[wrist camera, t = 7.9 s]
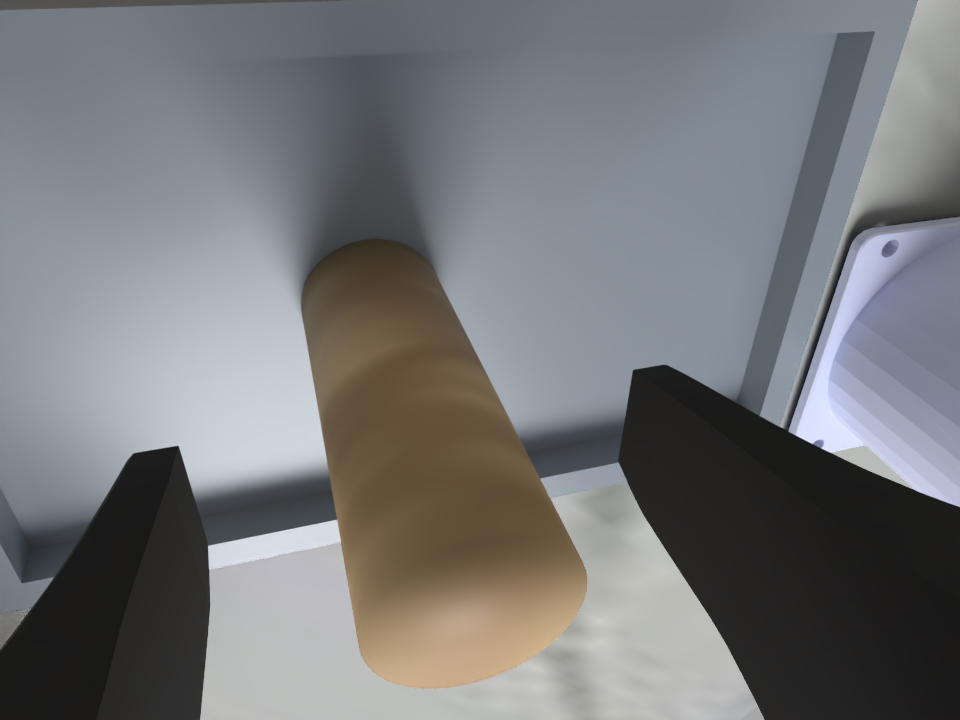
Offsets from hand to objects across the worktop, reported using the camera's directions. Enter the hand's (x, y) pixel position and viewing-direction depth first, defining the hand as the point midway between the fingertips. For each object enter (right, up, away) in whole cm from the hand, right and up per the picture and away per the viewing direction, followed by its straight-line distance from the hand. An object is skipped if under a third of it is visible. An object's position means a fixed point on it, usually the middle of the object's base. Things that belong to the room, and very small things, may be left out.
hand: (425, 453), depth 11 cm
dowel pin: (-1, +3, +4) cm, 5 cm away
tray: (-1, +3, +5) cm, 6 cm away
